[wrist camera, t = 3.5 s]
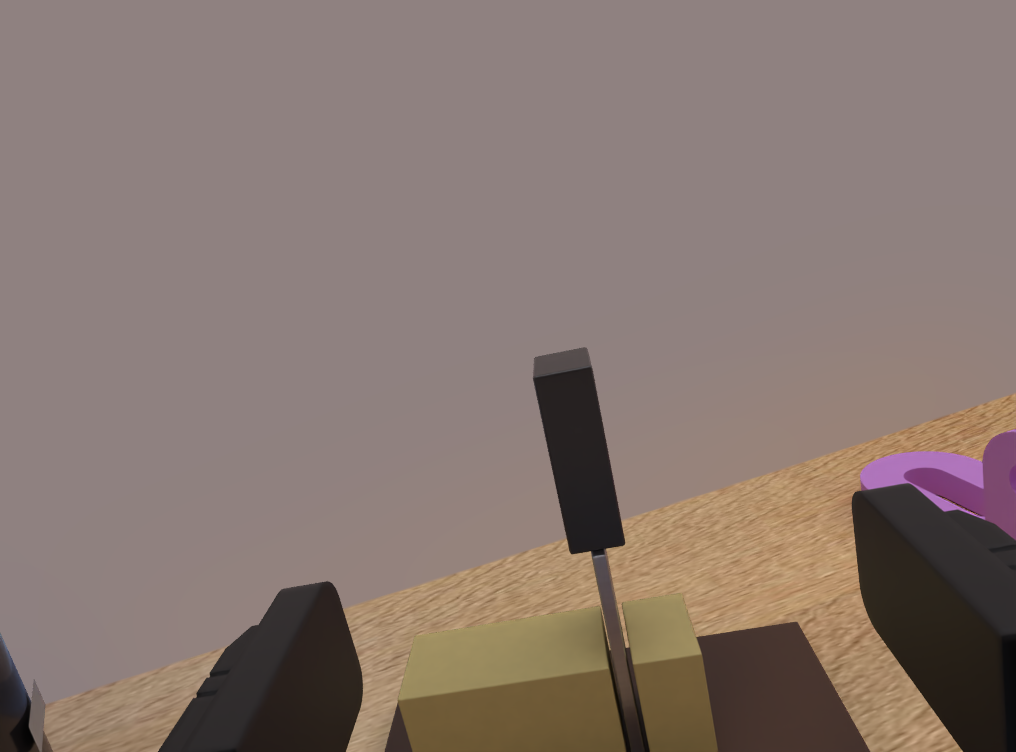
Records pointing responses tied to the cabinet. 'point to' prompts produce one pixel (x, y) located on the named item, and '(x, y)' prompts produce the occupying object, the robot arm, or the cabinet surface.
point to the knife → (586, 491)
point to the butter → (514, 687)
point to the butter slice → (669, 675)
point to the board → (752, 696)
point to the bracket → (957, 479)
